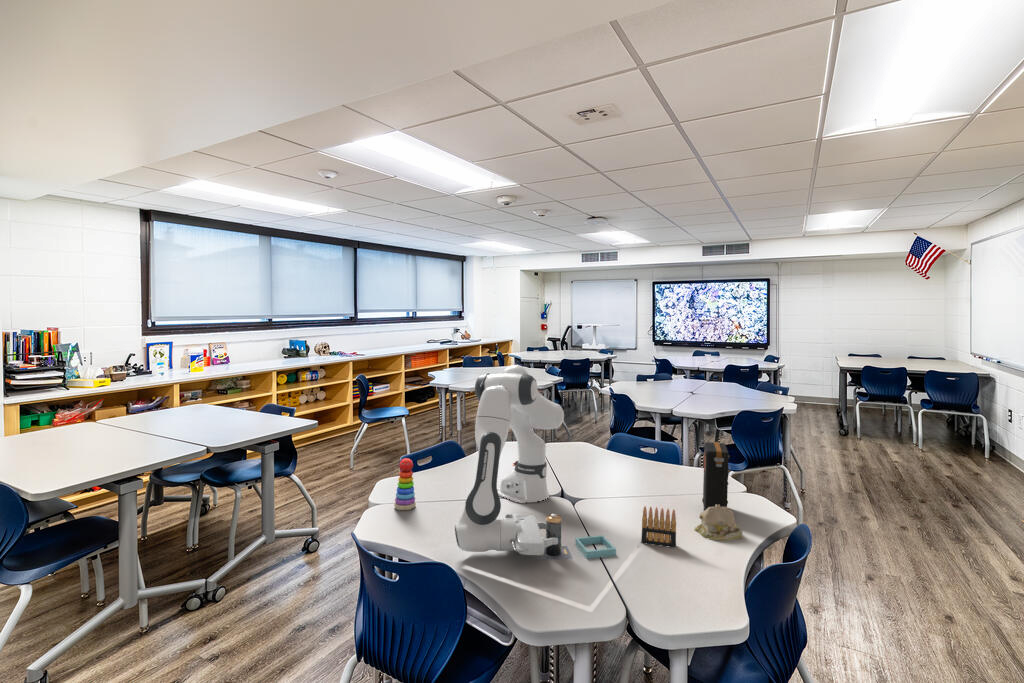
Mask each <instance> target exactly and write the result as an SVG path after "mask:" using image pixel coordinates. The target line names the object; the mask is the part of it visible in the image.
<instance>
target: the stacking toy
mask: <svg viewBox="0 0 1024 683" xmlns="http://www.w3.org/2000/svg"><path fill="white" fill-rule="evenodd" d="M413 467H414V463H413V460H412V459H410V458H407V457H405V458H402V459H401V461H400V462H399V469H400V471H399V473H398V476H399V477H398V480H397V481H398V482H397V488H396V493H395V498H394V502H395V503H394V505H393V506H394V508H395V509H396V510H398V511H410V510H413V509H414V508H415V507H416V505H417V504H416V497H415V495H416V493H415V491H414V490H415V487H414V486H415V482H414V481H413V480H414V476H413V475H414V473H413V471H412V469H413ZM412 508H413V509H412Z"/></svg>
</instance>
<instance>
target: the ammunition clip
mask: <svg viewBox="0 0 1024 683" xmlns="http://www.w3.org/2000/svg"><path fill="white" fill-rule="evenodd" d="M660 509H661V510H660V512H659V509H658V507H657V506H656V507H655V509H654V513H653V507H652V506H650V507H649V510H647V506H646V505H644V507H643V510H642V518H641V519H642V520H641V540H640V541H641V542H640V543H641V544H644V543H647V544H646V545H651V544H654V545H653V546H659V545H662V546H661V547H666V546H669V547H668V548H673V547H676V548H677V518H676V516H677V514H676V510H675V509H674V508H673V509H672V513H670V509H669V508H667V509H666V512H665V510H664V508H663V507H661V508H660ZM647 511H648V512H647ZM653 514H654V515H653ZM670 516H671V518H670ZM653 517H654V518H653Z"/></svg>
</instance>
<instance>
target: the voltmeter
mask: <svg viewBox="0 0 1024 683" xmlns="http://www.w3.org/2000/svg"><path fill="white" fill-rule="evenodd" d="M703 450H704V451H703V452H704V454H703V486H702V487H703V489H702V493H703V494H702V500H701V502H702V504H703V512H704V511H705V510H706V509H707V508H708V507H715V505H718V504H719V505H720V507H727V508H728V504H729V500H728V488H729V484H730V483H729V459H730V454H729V450H728V448H727V445H726V443H724V442H722V443H720V441H719V442H718V441H713V442H708V441H707V442H705V443H704V445H703Z"/></svg>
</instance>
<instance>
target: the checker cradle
mask: <svg viewBox="0 0 1024 683" xmlns="http://www.w3.org/2000/svg"><path fill="white" fill-rule="evenodd" d="M537 557H538V560H539V561H542V560H545V561H546V560H568V559H569V560H570V559H571V560H572V559H573V556H572V554H571V552H570V549H569V548H568V546H567V545H561V554H560V555H559V556H550V555H547V554H546V547H545V549H544V554H542V555H537Z"/></svg>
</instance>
